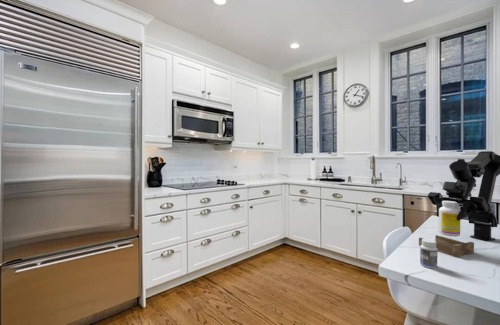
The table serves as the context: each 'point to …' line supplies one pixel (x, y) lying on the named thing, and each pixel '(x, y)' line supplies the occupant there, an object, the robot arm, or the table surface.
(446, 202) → the supplement bottle
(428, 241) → the pill bottle
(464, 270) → the table surface
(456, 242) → the bay
